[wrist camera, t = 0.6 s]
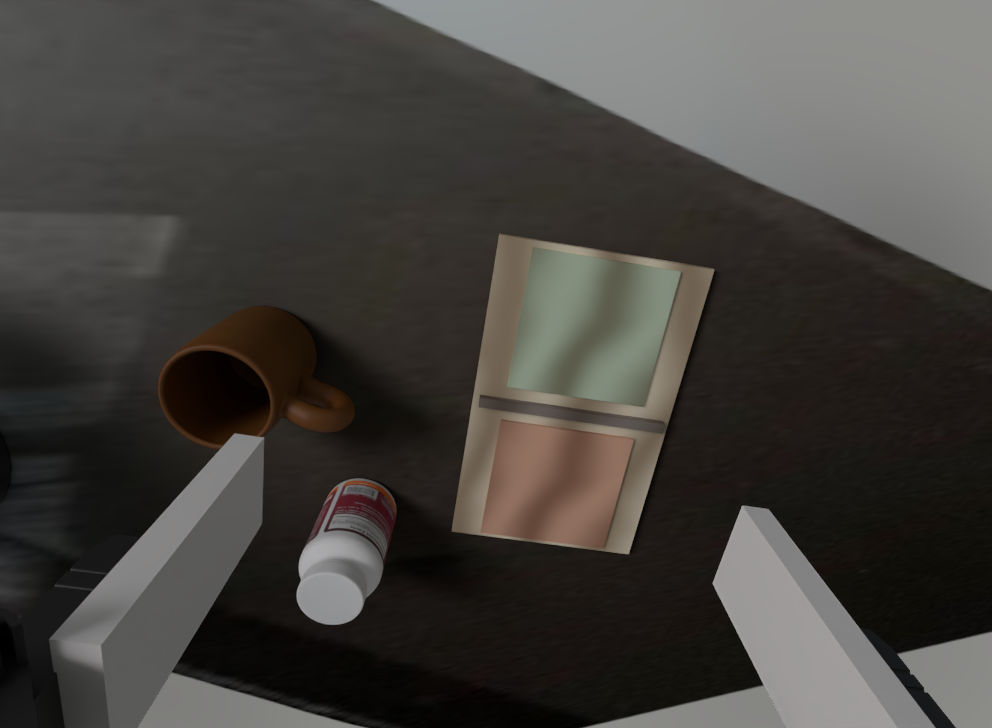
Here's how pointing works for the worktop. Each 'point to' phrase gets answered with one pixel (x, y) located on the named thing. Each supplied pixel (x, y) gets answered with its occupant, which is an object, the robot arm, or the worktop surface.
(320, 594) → the pill bottle
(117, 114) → the worktop surface
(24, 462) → the worktop surface
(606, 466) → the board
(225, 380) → the mug
